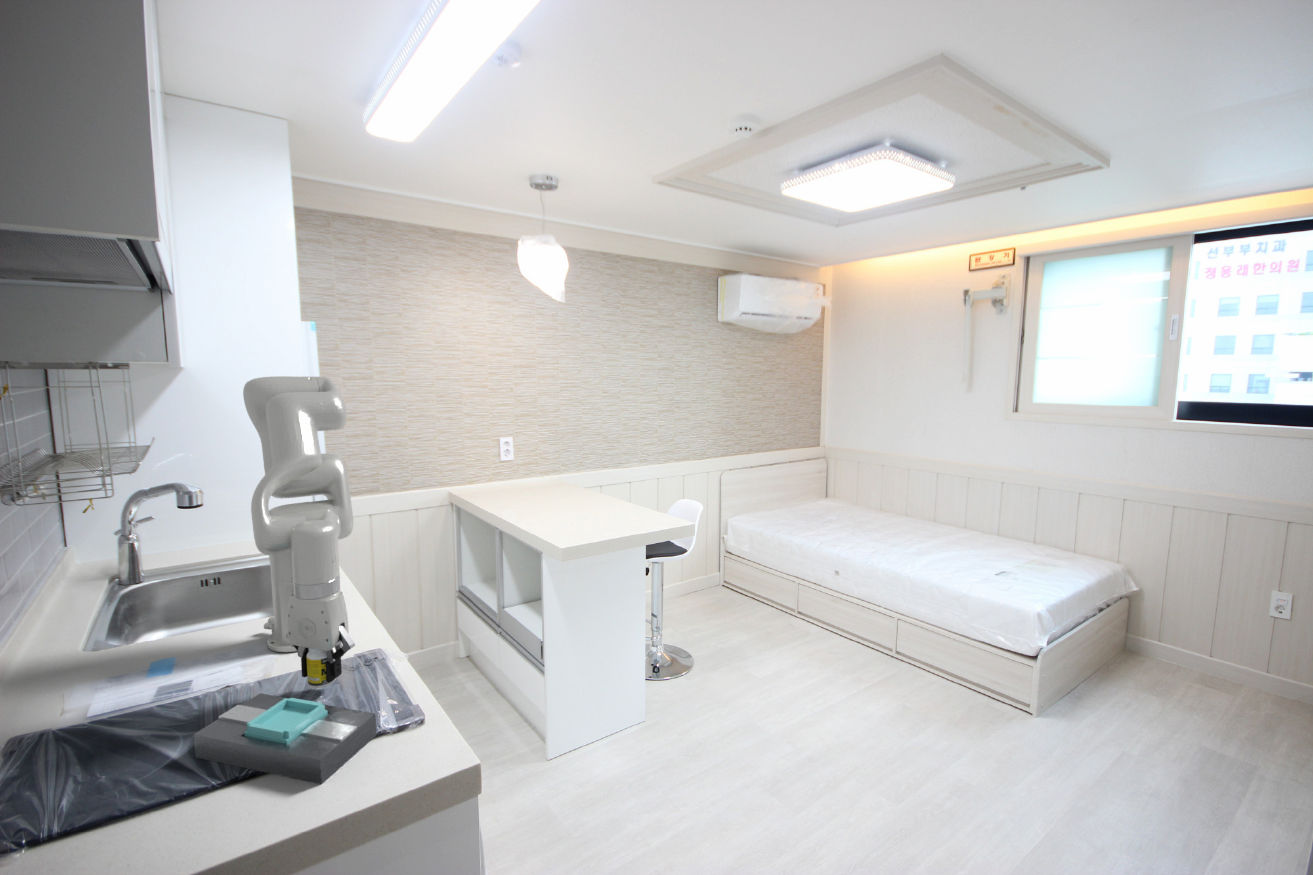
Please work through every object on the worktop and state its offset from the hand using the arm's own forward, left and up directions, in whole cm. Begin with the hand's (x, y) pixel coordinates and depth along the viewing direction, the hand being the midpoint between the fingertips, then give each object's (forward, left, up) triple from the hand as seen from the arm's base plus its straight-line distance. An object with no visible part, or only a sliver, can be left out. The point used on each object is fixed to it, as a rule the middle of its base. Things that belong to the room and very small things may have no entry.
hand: (322, 674), depth 112 cm
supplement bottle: (0, 0, -2) cm, 2 cm away
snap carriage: (+7, -15, -1) cm, 16 cm away
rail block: (+7, -15, -3) cm, 17 cm away
